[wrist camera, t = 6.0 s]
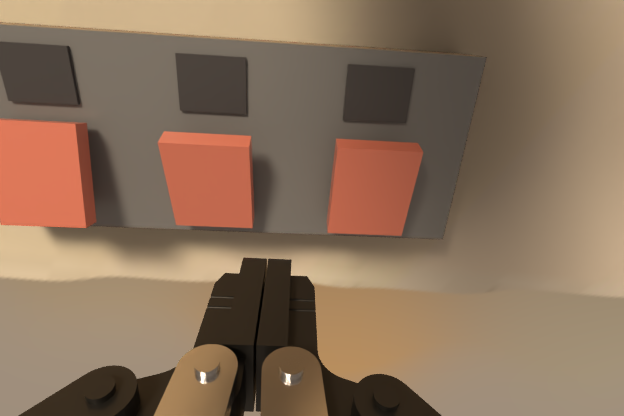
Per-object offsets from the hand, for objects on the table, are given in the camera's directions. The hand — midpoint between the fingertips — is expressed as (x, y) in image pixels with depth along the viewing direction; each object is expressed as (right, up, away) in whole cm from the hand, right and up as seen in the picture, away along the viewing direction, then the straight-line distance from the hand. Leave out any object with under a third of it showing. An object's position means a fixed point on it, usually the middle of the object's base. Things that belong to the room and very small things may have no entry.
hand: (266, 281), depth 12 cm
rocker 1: (-12, +4, +6) cm, 14 cm away
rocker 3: (+4, +3, +7) cm, 9 cm away
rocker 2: (-4, +4, +7) cm, 9 cm away
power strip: (-5, +7, +10) cm, 14 cm away
